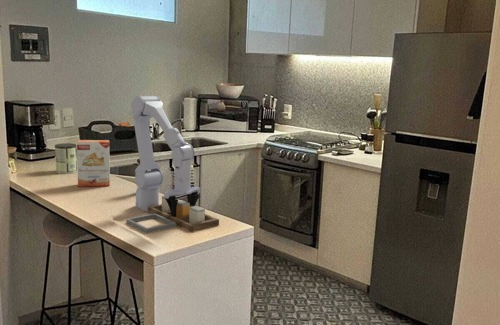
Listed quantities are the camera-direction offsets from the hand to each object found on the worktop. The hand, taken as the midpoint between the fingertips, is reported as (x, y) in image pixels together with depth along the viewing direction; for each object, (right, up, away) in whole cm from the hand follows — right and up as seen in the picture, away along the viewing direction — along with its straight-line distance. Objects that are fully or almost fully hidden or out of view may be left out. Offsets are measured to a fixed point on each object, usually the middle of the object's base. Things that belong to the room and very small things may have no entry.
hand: (182, 214), depth 175 cm
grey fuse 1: (-6, 0, +7) cm, 9 cm away
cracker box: (-47, +8, +47) cm, 67 cm away
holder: (0, -2, 0) cm, 2 cm away
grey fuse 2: (+6, -3, -6) cm, 9 cm away
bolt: (-22, +6, +37) cm, 44 cm away
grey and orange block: (0, -1, 0) cm, 1 cm away
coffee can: (-70, +14, +73) cm, 102 cm away
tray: (-10, -4, -8) cm, 13 cm away
